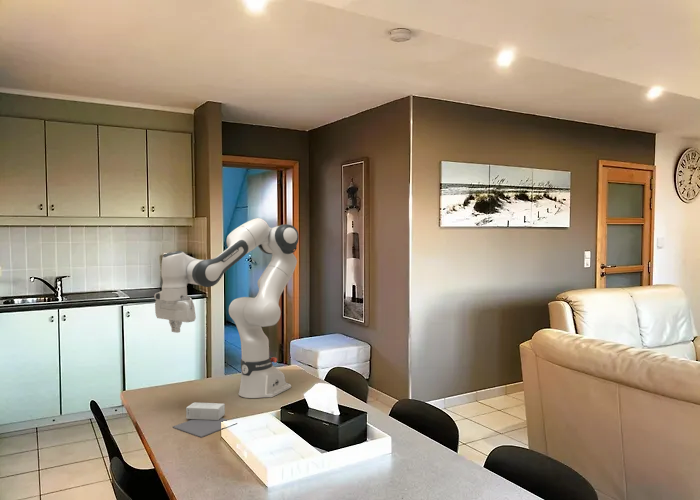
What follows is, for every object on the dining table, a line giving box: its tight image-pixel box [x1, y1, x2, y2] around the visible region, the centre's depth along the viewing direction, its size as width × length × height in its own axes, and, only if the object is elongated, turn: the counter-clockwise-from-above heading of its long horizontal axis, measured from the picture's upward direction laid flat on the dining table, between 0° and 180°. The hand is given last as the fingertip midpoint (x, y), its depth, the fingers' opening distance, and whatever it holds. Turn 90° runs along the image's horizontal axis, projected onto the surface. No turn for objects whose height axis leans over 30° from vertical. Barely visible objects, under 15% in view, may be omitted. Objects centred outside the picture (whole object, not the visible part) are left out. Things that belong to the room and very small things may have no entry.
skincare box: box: [185, 401, 226, 420], centre depth 189 cm, size 6×4×12 cm
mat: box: [172, 417, 228, 439], centre depth 182 cm, size 15×16×1 cm
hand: (175, 332), depth 198 cm, fingers closed
